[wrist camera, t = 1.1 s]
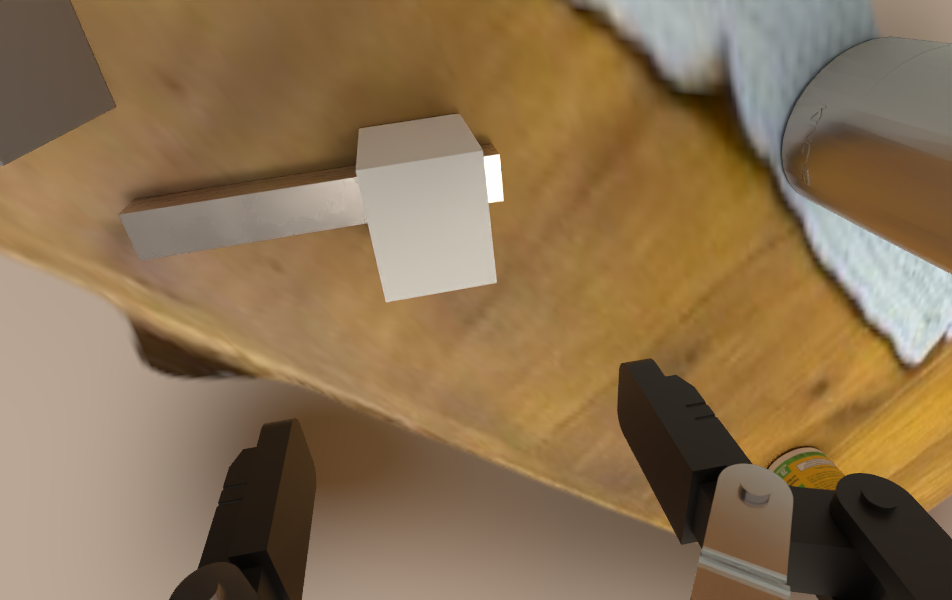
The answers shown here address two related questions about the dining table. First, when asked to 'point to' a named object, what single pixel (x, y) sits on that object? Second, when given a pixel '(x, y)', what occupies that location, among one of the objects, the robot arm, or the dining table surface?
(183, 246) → the rail
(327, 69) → the dining table surface
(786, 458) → the supplement bottle
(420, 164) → the carriage
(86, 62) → the grey square housing
